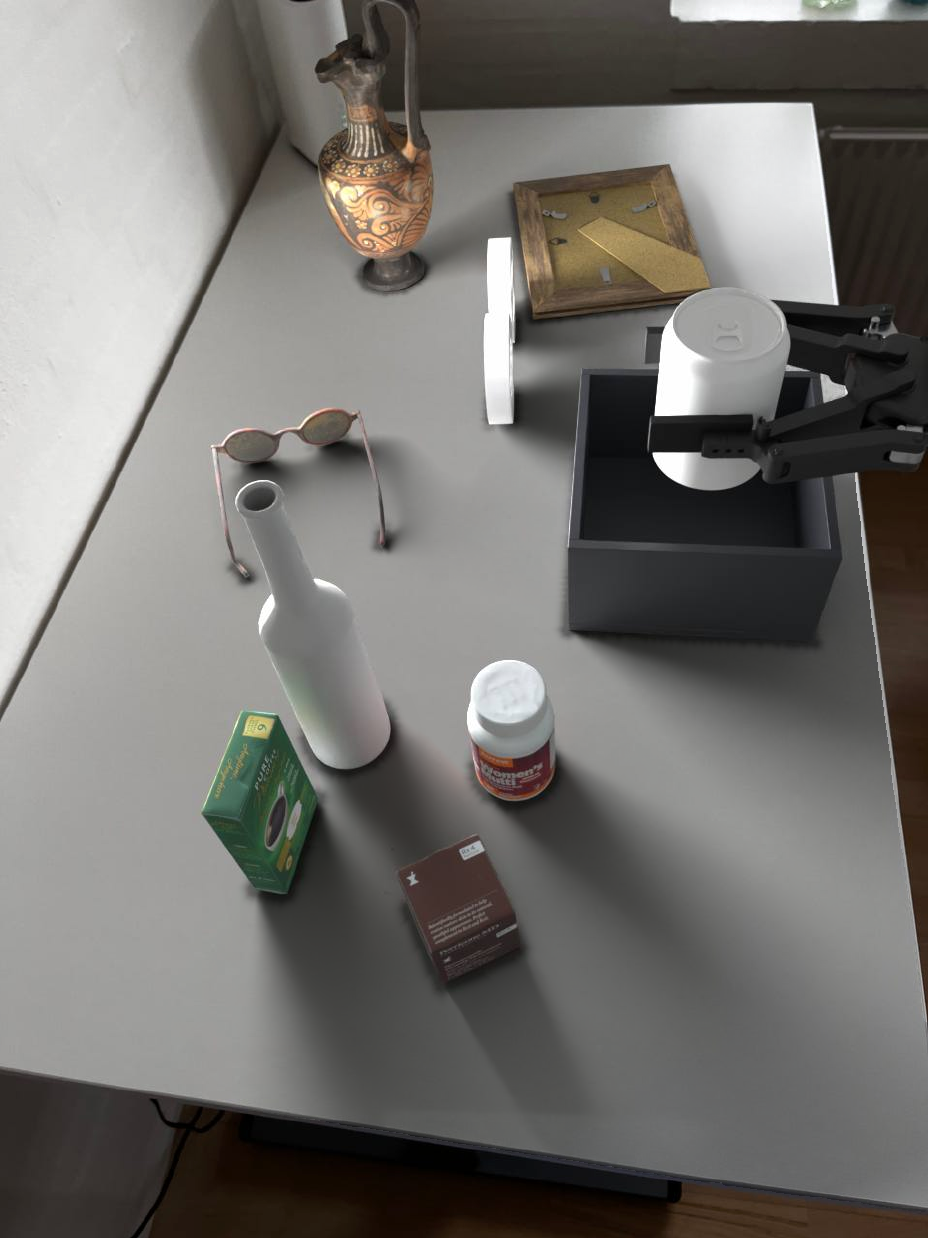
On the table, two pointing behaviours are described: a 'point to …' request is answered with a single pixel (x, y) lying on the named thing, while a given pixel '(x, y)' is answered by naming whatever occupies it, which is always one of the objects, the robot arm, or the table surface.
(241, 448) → the eyeglasses
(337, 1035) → the table surface
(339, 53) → the vase
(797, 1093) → the table surface
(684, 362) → the beverage can
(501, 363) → the letter
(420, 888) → the box
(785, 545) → the storage bin
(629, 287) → the picture frame
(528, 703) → the pill bottle
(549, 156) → the table surface
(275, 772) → the coffee box
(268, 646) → the bottle
